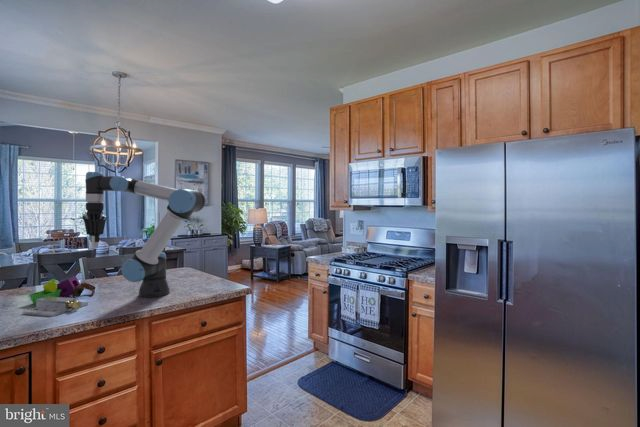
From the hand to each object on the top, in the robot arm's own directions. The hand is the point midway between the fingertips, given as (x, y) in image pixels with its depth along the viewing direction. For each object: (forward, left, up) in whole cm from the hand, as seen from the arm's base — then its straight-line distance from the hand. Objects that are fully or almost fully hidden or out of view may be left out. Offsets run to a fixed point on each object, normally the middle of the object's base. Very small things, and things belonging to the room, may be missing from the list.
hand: (94, 248), depth 168 cm
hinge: (+4, +17, -26) cm, 32 cm away
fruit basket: (+20, +8, -27) cm, 34 cm away
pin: (+2, +17, -26) cm, 31 cm away
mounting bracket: (+27, -3, -27) cm, 38 cm away
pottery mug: (+12, -4, -27) cm, 30 cm away
